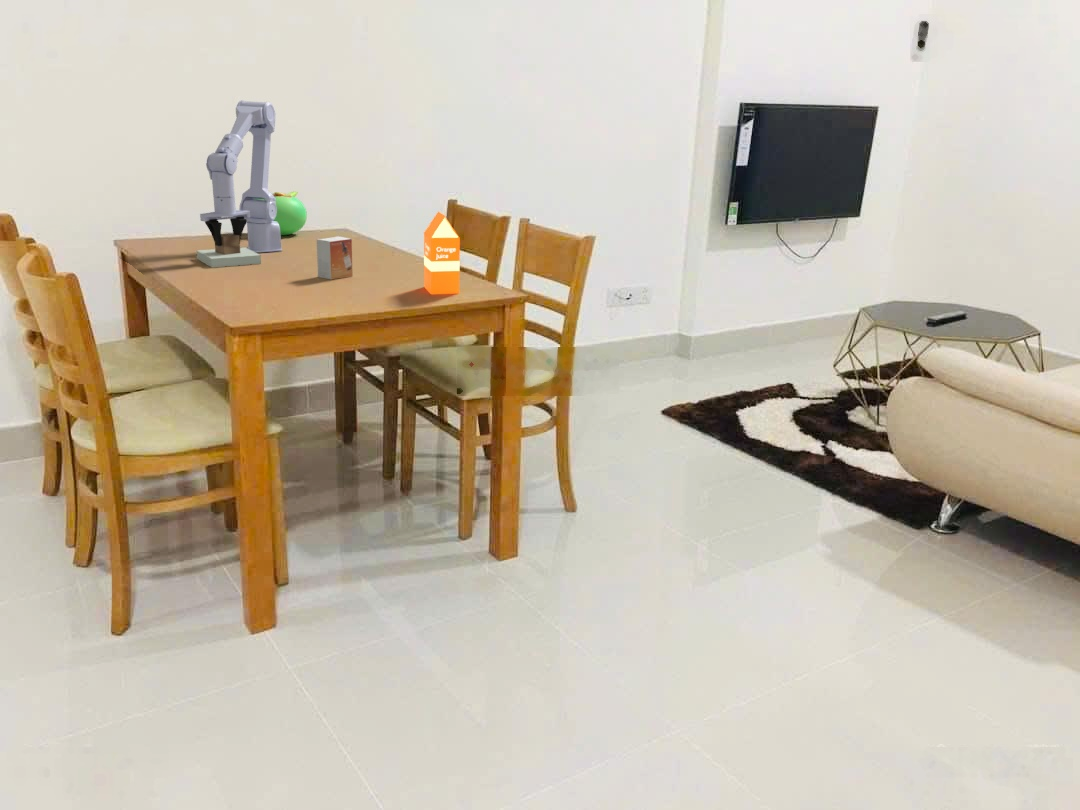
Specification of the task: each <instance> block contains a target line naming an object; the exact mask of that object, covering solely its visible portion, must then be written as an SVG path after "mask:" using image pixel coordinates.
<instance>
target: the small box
mask: <svg viewBox="0 0 1080 810" xmlns="http://www.w3.org/2000/svg"><path fill="white" fill-rule="evenodd" d="M352 240H353V239H352V238H349V237H344V236H340V235H339V236H332V237H326V238H317V239H316V260H317V261H316V262H317V277H318V278H321V279H326V280H329V281H331V280H332V281H333V280H335V279H340V278H341V279H343V278H350V277H353V276H354V275H353V247H352V246H353V241H352Z"/></svg>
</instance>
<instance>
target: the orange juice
mask: <svg viewBox="0 0 1080 810" xmlns="http://www.w3.org/2000/svg"><path fill="white" fill-rule="evenodd" d="M460 239H461V238H460V237H459V235H458V234H457V232H456V230H455V229H454V228H453V227H452V225H451V223H450V222H449V220H448V219H447V217H446V215H444V214H443V213H442V212H440V211H437V213H436V214H435V216H434V217H433V218H432V220H431V222H430V223H429V224H428V226H427V227H426V229H425V230H424V232H423V270H424V271H423V273H424V275H423V281H424V282H423V286H424V287H423V288H425V290H426V291H427V292H428V293H429V294H430V295H450V294H452V295H453V294H454V295H455V294H460V269H461V268H460V264H461V263H460V257H461V256H460V253H461V251H460V250H461V247H460V246H461V240H460Z"/></svg>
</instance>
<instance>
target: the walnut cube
mask: <svg viewBox="0 0 1080 810" xmlns="http://www.w3.org/2000/svg"><path fill="white" fill-rule="evenodd" d="M240 247H241V241H240V239H239V235H235V234H233V233H230V232H229V233H221V246H217V245H215V244H214V249H215V252H217V253H221V254H234V253H240Z"/></svg>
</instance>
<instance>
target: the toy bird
mask: <svg viewBox="0 0 1080 810" xmlns="http://www.w3.org/2000/svg"><path fill="white" fill-rule="evenodd" d="M271 194H272V195H273V196H274V197H275V198H276V208H277V214H276V217H275V219H274V220H273V221H277V222H278V224H279V227H280V234H281V236H287V235H288V236H289V235H292V234H295V233H297V232H299V231H300V230H301V229H302V228H303V227H304V226H305V225H306V222H307V217H308V216H307V215H308V214H307V209H306V207H305V205H304V204H303V202H302V201H301V200H300V199H298V198H297V197H296V196H297V195H298V191H291V192H289V193H282V192H278V191H276V192H274V193H271ZM253 200H265V199H253Z"/></svg>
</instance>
